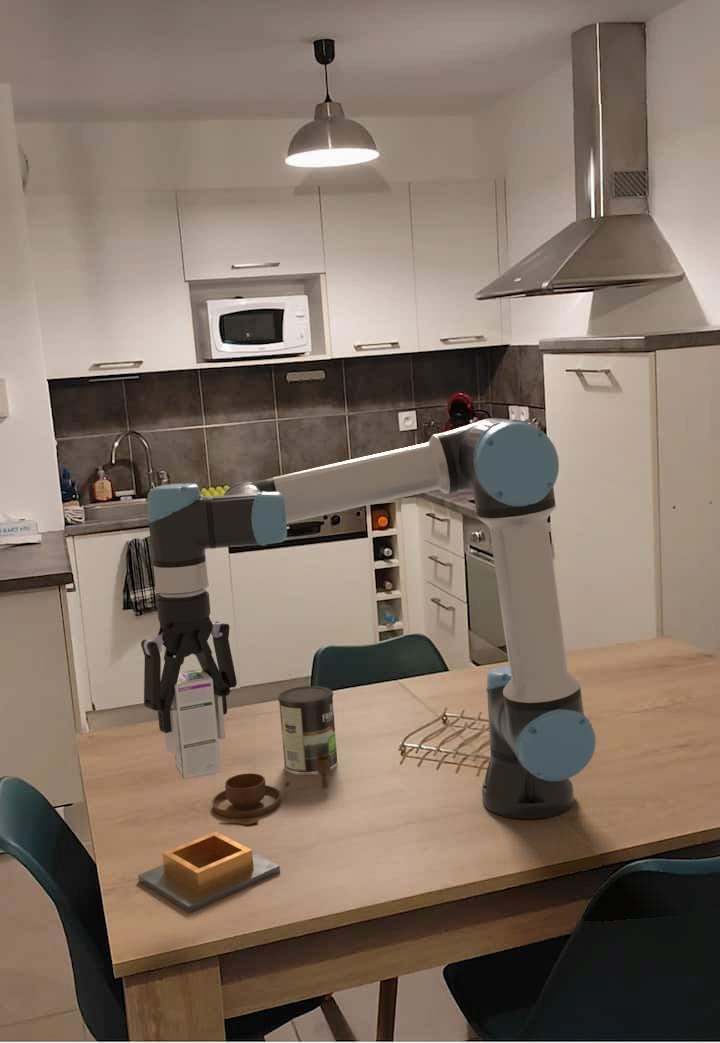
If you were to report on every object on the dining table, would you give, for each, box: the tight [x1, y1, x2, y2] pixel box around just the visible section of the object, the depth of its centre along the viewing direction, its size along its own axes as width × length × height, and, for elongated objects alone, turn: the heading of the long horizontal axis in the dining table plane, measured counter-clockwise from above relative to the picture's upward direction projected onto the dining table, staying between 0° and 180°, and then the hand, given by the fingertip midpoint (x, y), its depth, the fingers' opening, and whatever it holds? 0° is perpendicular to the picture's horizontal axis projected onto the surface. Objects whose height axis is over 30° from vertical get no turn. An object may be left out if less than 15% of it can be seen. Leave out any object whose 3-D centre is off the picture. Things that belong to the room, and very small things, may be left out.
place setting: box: [211, 756, 331, 826], centre depth 185 cm, size 18×20×6 cm
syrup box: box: [171, 669, 222, 780], centre depth 156 cm, size 6×6×14 cm
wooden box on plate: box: [137, 831, 281, 914], centre depth 159 cm, size 14×16×4 cm
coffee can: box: [277, 685, 339, 776], centre depth 200 cm, size 10×10×14 cm
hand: (196, 744), depth 157 cm, fingers closed on syrup box, 7 cm apart
